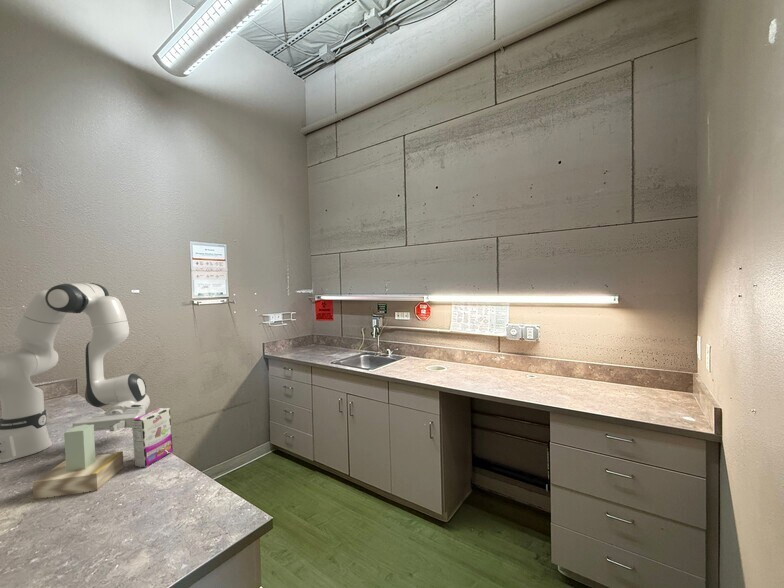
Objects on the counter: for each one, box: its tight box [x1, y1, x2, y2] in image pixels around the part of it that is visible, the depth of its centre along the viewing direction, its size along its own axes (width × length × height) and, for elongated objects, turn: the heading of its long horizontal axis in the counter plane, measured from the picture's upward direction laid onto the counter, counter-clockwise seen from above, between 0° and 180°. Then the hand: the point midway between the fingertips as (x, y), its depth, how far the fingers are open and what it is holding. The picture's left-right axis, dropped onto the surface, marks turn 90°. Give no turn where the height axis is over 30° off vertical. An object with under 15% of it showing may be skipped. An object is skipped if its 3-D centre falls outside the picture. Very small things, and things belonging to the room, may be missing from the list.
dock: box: [32, 450, 124, 500], centre depth 107 cm, size 16×14×5 cm
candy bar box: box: [131, 407, 174, 468], centre depth 120 cm, size 11×5×16 cm, turn 168°
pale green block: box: [63, 424, 96, 471], centre depth 107 cm, size 5×5×12 cm
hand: (95, 430), depth 115 cm, fingers open, 8 cm apart
